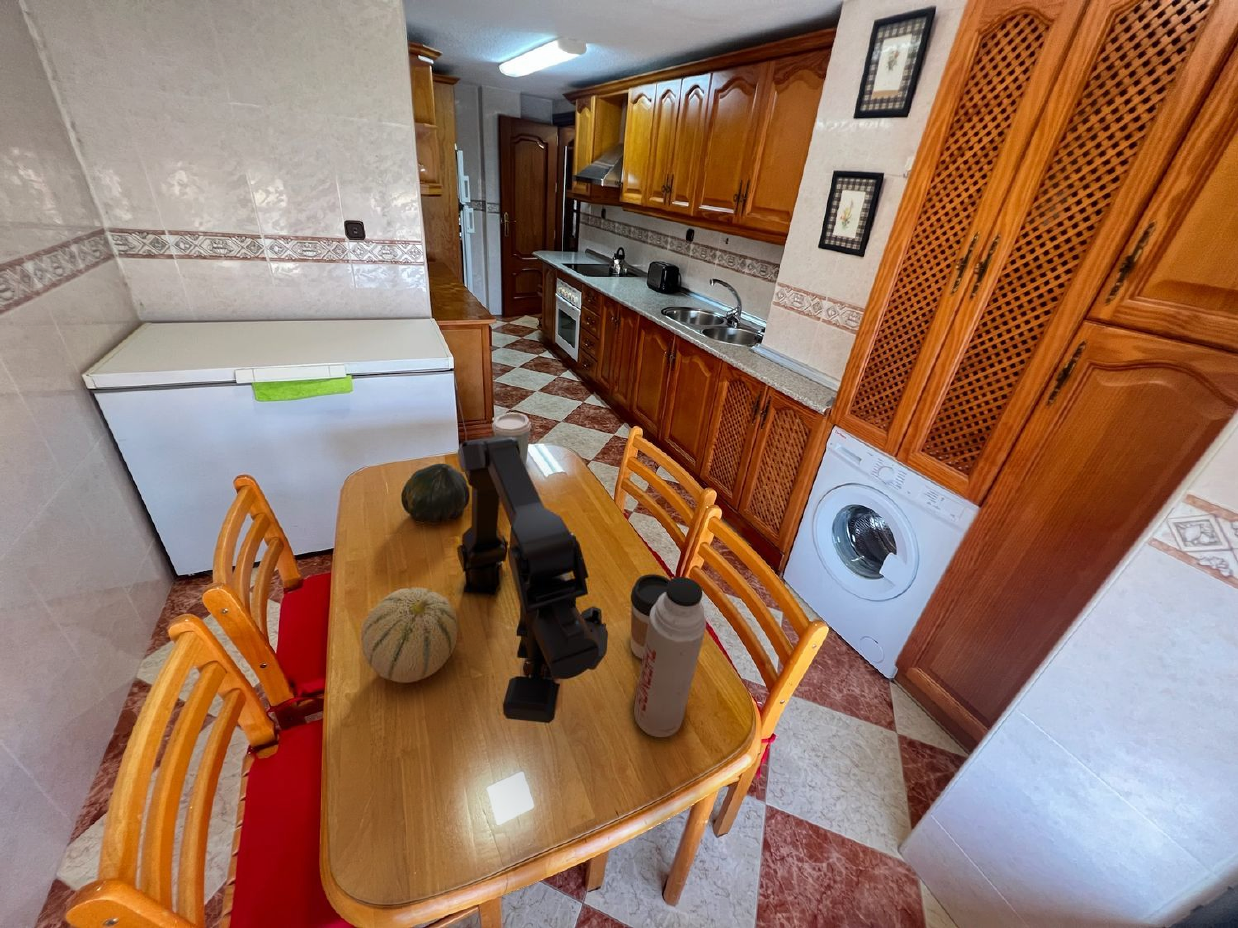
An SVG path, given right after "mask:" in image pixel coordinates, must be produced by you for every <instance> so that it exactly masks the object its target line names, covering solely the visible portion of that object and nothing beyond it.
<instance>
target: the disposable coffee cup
mask: <svg viewBox="0 0 1238 928" xmlns="http://www.w3.org/2000/svg"><path fill="white" fill-rule="evenodd" d="M491 429H492V431H493V436H494V437H496V436H503V435H504V436H506V437H508V436H510V437H511V438H513V437H515V438H516V439H517V440H518V445H519V449H520V457H521V459H522V461H523V463H524V465H525V466H526V464H527V459H528V451H529V443H530V437H531V436H530V435H531V429H532V423H531V421H530V419H529V418H528V416H527V415H525V414H524V413H520V412H513V411H512V412H506V413H502V414H500V415H499V416H497V417H495V419H494V421H493V422H492V423H491Z"/></svg>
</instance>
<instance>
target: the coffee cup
mask: <svg viewBox="0 0 1238 928" xmlns="http://www.w3.org/2000/svg"><path fill="white" fill-rule="evenodd" d="M670 580H671V579H669V578H667V577H665V576H663V575H660V574H656V573H650V574H644V575H642V576H640V577H639V578H638V579H637V580H636V582H635V583H634V585H633V587H632V589H631V593H630V602H631V606H630V607H631V608H630V609H631V611H630V633H631V634H630V649H631V651H632V653H633V654H634V655H635V656H636V657H637V658H639V659H641V660H643V652H644V646H645V641H646V635H647V629H648V623H649V617H650V612H651V609H652V607H653V606H654V605H655V604H656V602H657V600H658V599H659V597H660V596H661V595H662V594H663V593H665V592H666V587H667V584H668V582H669V581H670Z"/></svg>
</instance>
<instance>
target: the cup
mask: <svg viewBox="0 0 1238 928" xmlns="http://www.w3.org/2000/svg"><path fill="white" fill-rule="evenodd" d="M544 666H545V664H544V665H543V669H542V674H541V676H543V671H544V669H545V668H544ZM533 667H534V664H527V663H526V658H522V660H521V662H520V667H519V676H522V677H529V676H530V675H532V672H533ZM551 675H552V673H551ZM552 676H553V675H552ZM554 678H555V682H556V683H559V684H560V688H559V694H558V701H557V707H556V712H557V711H558V710H559V709H560V708H561V706H562V703H563V700H564V692H565V691H564V690H565V679H558V678H556V677H554Z"/></svg>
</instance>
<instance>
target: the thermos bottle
mask: <svg viewBox="0 0 1238 928" xmlns="http://www.w3.org/2000/svg"><path fill="white" fill-rule="evenodd" d="M669 580H670V581H669V582H668V584H667V587H666V592H665V593H663V594H662V595H661V596H660V597H659V599H658V600H657V602H656V604H655V605H654V606H653V607H652V609H651V612H650V617H649V623H648V629H647V635H646V641H645V646H644V652H643V659H641V663H642V664H641V668H640V671H639V672H640V673H639V677H638V683H637V689H636V695H635V701H634V707H633V715H634V719H635V722H636V724H637V725H638V727H639V728H640V729H641V730H642V731H643V732H644V733H646V734H647V735H650V736H652V737H655V738H667V737H670V736H672V735H674V734H676V733H677V732H678V730H679V729H680V728H681V725H682V723H683V720H684V715H685V711H686V708H687V704H688V700H689V694H690V691H691V687H692V684H693V680H694V677H695V673H696V668H697V664H698V661H699V660H698V659H699V657H700V652H701V649H702V644H703V640H704V636H705V633H706V629H707V619H706V616H705V607H704V605H703V603H702V597H703V589H702V586H701V585H700V584H699V583H698V582H697V581H695V580H694V579H693V578H689V577H686V576H677V577H674V578H671V579H669Z"/></svg>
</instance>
